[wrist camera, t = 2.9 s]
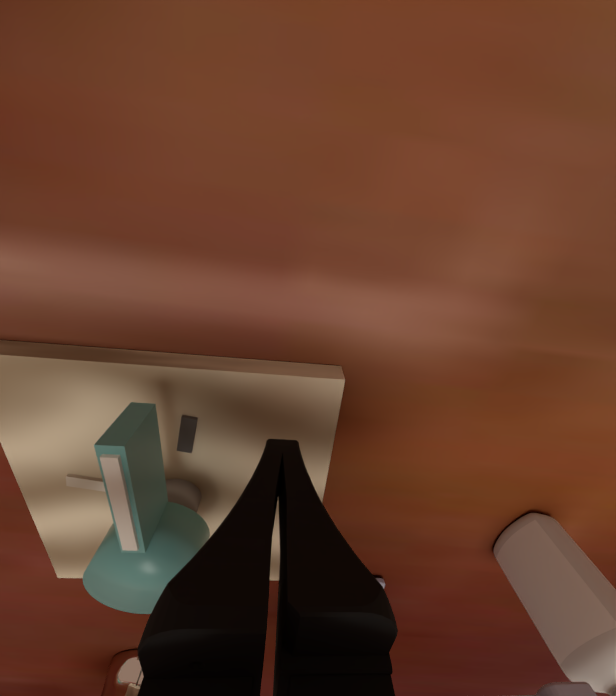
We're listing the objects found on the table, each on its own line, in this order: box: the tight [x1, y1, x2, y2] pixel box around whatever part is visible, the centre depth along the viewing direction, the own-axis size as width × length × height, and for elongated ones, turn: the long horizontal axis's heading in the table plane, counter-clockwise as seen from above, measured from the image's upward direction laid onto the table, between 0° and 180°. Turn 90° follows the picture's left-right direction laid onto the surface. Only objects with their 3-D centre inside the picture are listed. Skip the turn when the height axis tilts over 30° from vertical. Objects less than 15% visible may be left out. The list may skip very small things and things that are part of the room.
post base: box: [0, 340, 345, 580], centre depth 18 cm, size 18×18×4 cm
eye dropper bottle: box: [493, 513, 616, 696], centre depth 18 cm, size 4×6×12 cm
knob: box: [83, 402, 210, 614], centre depth 13 cm, size 11×5×3 cm, turn 174°
